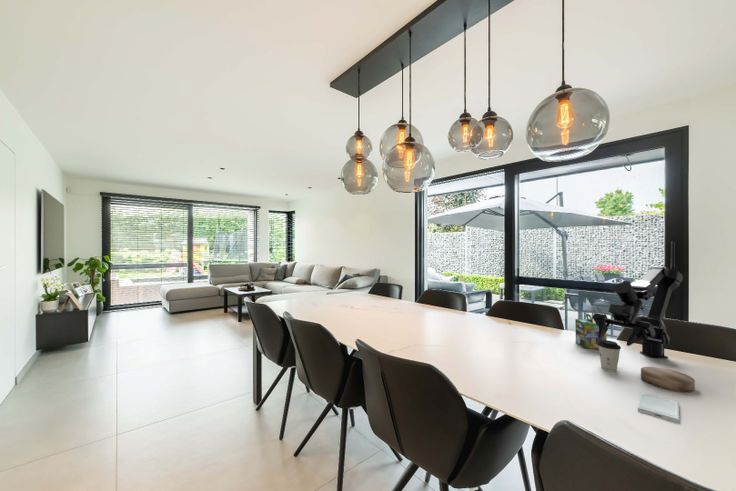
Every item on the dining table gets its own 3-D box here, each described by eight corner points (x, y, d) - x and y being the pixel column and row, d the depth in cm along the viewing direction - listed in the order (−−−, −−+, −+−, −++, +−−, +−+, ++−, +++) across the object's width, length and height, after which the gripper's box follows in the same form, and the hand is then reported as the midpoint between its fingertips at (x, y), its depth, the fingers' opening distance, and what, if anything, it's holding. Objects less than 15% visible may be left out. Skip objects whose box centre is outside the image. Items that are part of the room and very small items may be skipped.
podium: (666, 375, 110) (666, 366, 110) (707, 392, 97) (707, 383, 97) (630, 374, 110) (630, 366, 110) (666, 392, 97) (666, 382, 97)
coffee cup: (625, 371, 113) (625, 344, 113) (612, 373, 111) (613, 346, 111) (605, 364, 120) (605, 338, 120) (593, 366, 117) (593, 340, 117)
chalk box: (607, 350, 136) (607, 316, 136) (584, 348, 138) (584, 315, 138) (596, 343, 145) (596, 312, 145) (574, 342, 147) (574, 311, 147)
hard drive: (641, 392, 95) (637, 407, 86) (678, 402, 89) (679, 418, 80) (641, 397, 95) (637, 413, 86) (678, 407, 89) (679, 425, 80)
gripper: (595, 293, 127) (578, 322, 123) (651, 300, 110) (635, 334, 106) (605, 310, 131) (589, 339, 126) (662, 320, 114) (646, 354, 109)
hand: (613, 341), depth 116 cm, fingers open, 9 cm apart
